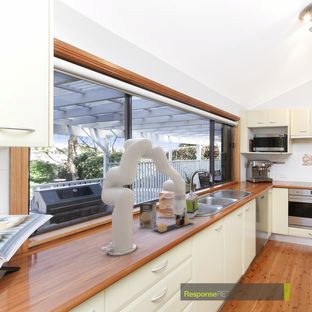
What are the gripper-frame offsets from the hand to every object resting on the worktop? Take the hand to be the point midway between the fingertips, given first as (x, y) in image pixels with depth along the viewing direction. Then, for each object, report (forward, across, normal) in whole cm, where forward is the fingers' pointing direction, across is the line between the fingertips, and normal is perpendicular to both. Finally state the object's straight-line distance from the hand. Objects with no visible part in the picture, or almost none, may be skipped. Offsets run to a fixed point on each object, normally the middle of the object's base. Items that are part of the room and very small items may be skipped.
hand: (179, 223), depth 149 cm
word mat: (+1, 0, -5) cm, 5 cm away
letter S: (+1, 0, 0) cm, 1 cm away
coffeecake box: (+2, -26, +10) cm, 28 cm away
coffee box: (+2, -15, -15) cm, 21 cm away
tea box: (+2, -15, +21) cm, 26 cm away
